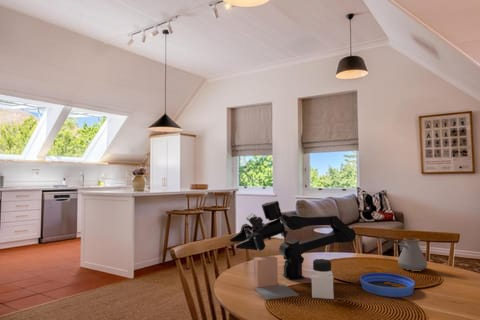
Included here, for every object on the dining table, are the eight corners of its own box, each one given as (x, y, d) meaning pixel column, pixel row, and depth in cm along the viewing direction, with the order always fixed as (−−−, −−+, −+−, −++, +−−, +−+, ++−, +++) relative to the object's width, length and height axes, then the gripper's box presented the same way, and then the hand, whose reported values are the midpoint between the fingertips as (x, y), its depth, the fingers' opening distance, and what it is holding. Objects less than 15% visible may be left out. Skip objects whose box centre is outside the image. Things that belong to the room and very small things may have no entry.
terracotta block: (273, 281, 133) (273, 255, 134) (277, 285, 129) (277, 258, 130) (254, 284, 131) (253, 257, 131) (257, 287, 127) (257, 259, 127)
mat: (285, 285, 128) (285, 284, 128) (298, 295, 118) (298, 294, 118) (254, 289, 124) (254, 288, 124) (266, 300, 114) (266, 298, 114)
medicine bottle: (334, 299, 114) (333, 262, 114) (312, 298, 115) (311, 261, 116) (332, 292, 121) (332, 257, 121) (311, 291, 122) (311, 256, 123)
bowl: (411, 284, 130) (410, 274, 130) (418, 301, 112) (418, 290, 113) (360, 279, 135) (359, 270, 136) (360, 295, 118) (360, 284, 118)
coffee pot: (414, 264, 155) (413, 231, 156) (434, 271, 144) (432, 235, 145) (372, 268, 150) (371, 233, 151) (390, 276, 139) (389, 238, 140)
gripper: (256, 207, 146) (222, 219, 142) (272, 215, 128) (232, 230, 124) (263, 231, 147) (229, 244, 143) (280, 243, 129) (241, 258, 125)
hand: (232, 243), depth 134 cm, fingers open, 9 cm apart
